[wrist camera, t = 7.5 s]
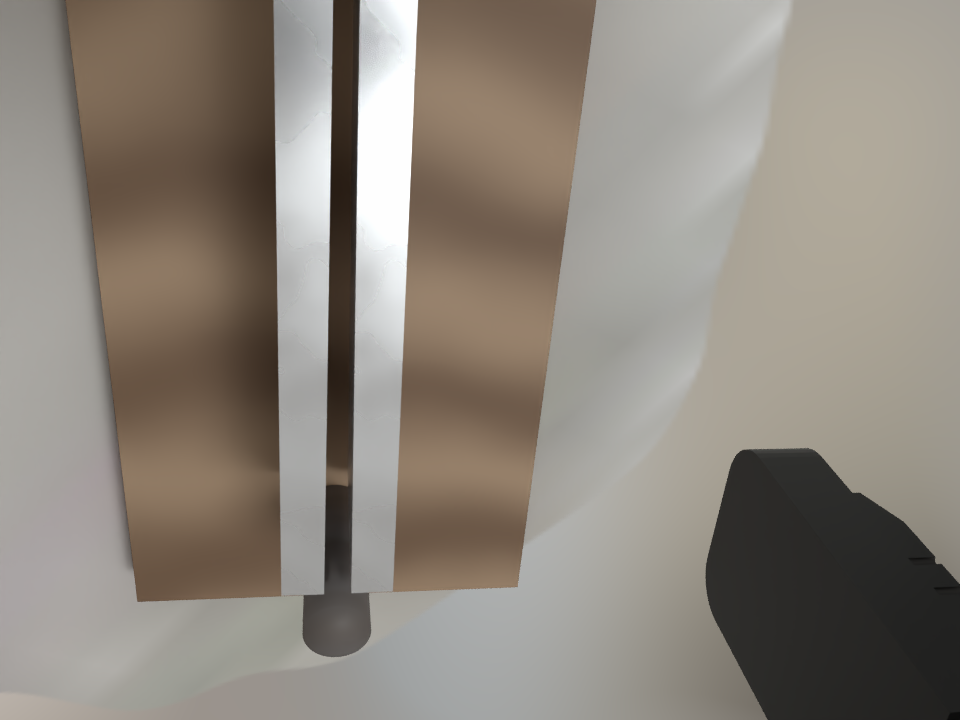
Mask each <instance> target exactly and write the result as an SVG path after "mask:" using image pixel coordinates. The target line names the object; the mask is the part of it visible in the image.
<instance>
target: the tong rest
mask: <svg viewBox="0 0 960 720" xmlns="http://www.w3.org/2000/svg"><path fill="white" fill-rule="evenodd" d="M65 1H66V9H67V18H68V26H69V34H70V43H71V51H72V59H73V68H74V76H75V84H76V93H77V101H78V109H79V118H80V126H81V134H82V143H83V151H84V159H85V168H86V176H87V184H88V193H89V201H90V209H91V218H92V226H93V234H94V243H95V251H96V259H97V268H98V276H99V284H100V293H101V301H102V309H103V318H104V326H105V334H106V343H107V351H108V360H109V368H110V376H111V385H112V393H113V401H114V410H115V418H116V426H117V435H118V443H119V451H120V460H121V468H122V476H123V485H124V493H125V501H126V510H127V518H128V526H129V535H130V543H131V551H132V560H133V568H134V576H135V585H136V593H137V601H138V602H143V601H169V600H195V599H221V598H247V597H273V596H281V527H280V451H279V375H278V300H277V224H276V148H275V73H274V0H65ZM595 7H596V0H418V9H417V33H416V56H415V80H414V104H413V127H412V151H411V175H410V198H409V222H408V246H407V269H406V293H405V317H404V340H403V364H402V388H401V411H400V435H399V459H398V482H397V506H396V530H395V553H394V577H393V591H391V592H402V591H428V590H454V589H477V588H478V589H480V588H504V587H517V586H518V579H519V570H520V564H521V556H522V549H523V542H524V534H525V527H526V519H527V512H528V504H529V497H530V490H531V482H532V475H533V467H534V460H535V452H536V445H537V438H538V430H539V423H540V415H541V408H542V400H543V393H544V386H545V378H546V371H547V363H548V356H549V348H550V341H551V334H552V326H553V319H554V311H555V304H556V296H557V289H558V282H559V274H560V267H561V259H562V252H563V244H564V237H565V230H566V222H567V215H568V207H569V200H570V192H571V185H572V178H573V170H574V163H575V155H576V148H577V140H578V133H579V126H580V118H581V111H582V103H583V96H584V89H585V81H586V74H587V66H588V59H589V51H590V44H591V37H592V29H593V22H594V14H595ZM352 55H353V0H333V41H332V106H331V171H330V237H329V302H328V368H327V433H326V498H325V564H324V594H318V595H304V605H303V639H304V642H305V644H306V645H307V646H308V647H309V648H310V649H311V650H312V651H314V652H315V653H317V654H320V655H323V656H328V657H341V656H346V655H349V654H352V653H354V652H356V651H358V650H359V649H361V648H362V647H363V646H364V645H365V644H366V643H367V641H368V640H369V637H370V634H371V622H370V605H369V593H376V592H369V593H351V570H350V542H349V514H348V413H349V324H350V234H351V144H352ZM288 596H299V595H288Z"/></svg>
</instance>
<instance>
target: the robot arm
mask: <svg viewBox="0 0 960 720" xmlns="http://www.w3.org/2000/svg"><path fill="white" fill-rule="evenodd" d="M706 589H707V596H708V601H709V605H710V608H711V611H712V614H713V616H714V618H715V621H716V623H717V625H718V626H719V628H720V630H721V632H722V634H723V636H724V638H725V640H726V642H727V643H728V645H729V647H730V649H731V651H732V653H733V655H734V657H735V659H736V660H737V662H738V664H739V666H740V668H741V670H742V672H743V674H744V676H745V678H746V679H747V681H748V683H749V685H750V687H751V689H752V691H753V692H754V694H755V696H756V698H757V700H758V702H759V704H760V706H761V708H762V709H763V712H764V713H765V715H766V717H767V719H768V720H960V584H959V583H958V582H957V581H956V580H955V579H954V577H953V576H952V575H951V574H950V573H949V572H948V571H947V570H946V568H945V567H944V566H943V565H942V564H936V563H935V556H934V555H933V554H932V553H931V552H930V551H929V549H927V548H926V546H925V545H924V544H923V543H922V542H921V541H920V539H919V538H918V537H917V536H916V535H915V534H914V533H913V532H912V530H911V529H910V528H909V527H908V526H907V525H906V524H905V523H904V522H903V521H901V520H900V519H899V518H897V517H895V516H894V515H893V514H891V513H889V512H888V511H887V510H885V509H884V508H882V507H881V506H879V505H878V504H876V503H875V502H873V501H872V500H870V499H868V498H867V497H865V496H864V495H862V494H861V493H852V492H851V491H850V490H849V488H847V486H846V485H845V484H844V483H843V481H842V480H841V479H840V478H839V477H838V476H837V475H836V473H835V472H834V471H833V470H832V469H831V467H830V466H829V465H828V464H827V463H826V462H825V460H824V459H823V458H822V457H821V456H820V455H819V454H818V453H817V452H816V451H814V450H812V449H809V448H804V449H802V448H800V449H753V450H752V449H749V450H742V451H740V452H739V453H738V454H737V455H736V456H735V458H734V460H733V462H732V464H731V467H730V471H729V475H728V478H727V483H726V486H725V491H724V494H723V498H722V502H721V506H720V510H719V514H718V518H717V522H716V526H715V530H714V534H713V538H712V542H711V546H710V550H709V554H708V558H707V563H706Z"/></svg>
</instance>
